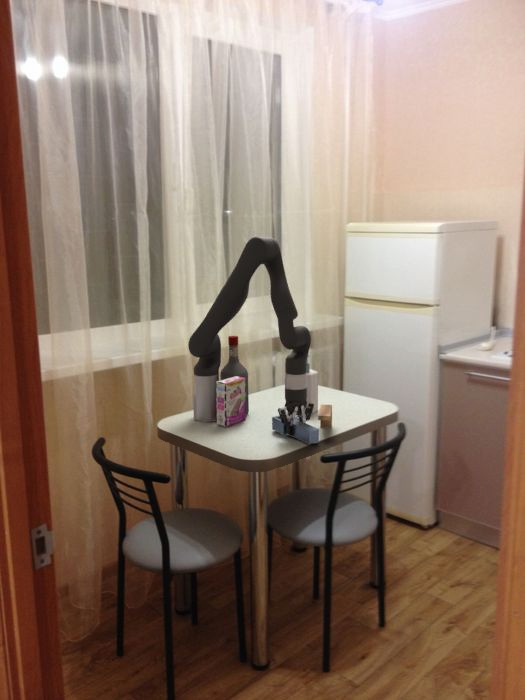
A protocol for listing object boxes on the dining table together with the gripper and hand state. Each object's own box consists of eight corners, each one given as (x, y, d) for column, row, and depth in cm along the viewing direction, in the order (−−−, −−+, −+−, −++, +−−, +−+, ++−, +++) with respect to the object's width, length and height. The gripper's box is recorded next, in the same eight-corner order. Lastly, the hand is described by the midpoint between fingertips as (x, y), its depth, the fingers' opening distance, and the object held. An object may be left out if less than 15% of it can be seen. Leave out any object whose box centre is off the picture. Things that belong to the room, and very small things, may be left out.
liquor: (232, 408, 252) (230, 333, 245) (251, 412, 246) (250, 335, 240) (218, 414, 244) (216, 337, 238) (237, 418, 239) (235, 339, 233)
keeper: (318, 438, 217) (318, 415, 215) (320, 426, 229) (320, 404, 228) (329, 438, 216) (330, 416, 215) (331, 426, 229) (332, 404, 227)
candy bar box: (226, 428, 229) (225, 383, 225) (216, 425, 232) (214, 381, 229) (246, 420, 237) (246, 377, 234) (236, 417, 240) (235, 375, 237)
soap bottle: (318, 407, 252) (318, 352, 247) (317, 414, 243) (317, 357, 239) (291, 406, 253) (291, 352, 248) (290, 413, 244) (290, 357, 240)
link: (272, 429, 225) (272, 417, 224) (288, 425, 228) (288, 413, 227) (305, 445, 209) (305, 432, 208) (322, 441, 212) (322, 428, 211)
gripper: (306, 380, 222) (306, 427, 226) (272, 386, 214) (272, 435, 218) (319, 384, 216) (319, 433, 219) (285, 391, 208) (285, 441, 212)
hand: (296, 434), depth 219 cm, fingers closed on link, 4 cm apart
